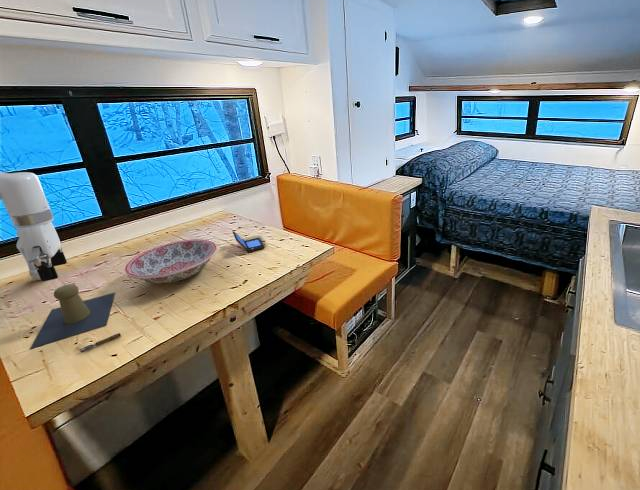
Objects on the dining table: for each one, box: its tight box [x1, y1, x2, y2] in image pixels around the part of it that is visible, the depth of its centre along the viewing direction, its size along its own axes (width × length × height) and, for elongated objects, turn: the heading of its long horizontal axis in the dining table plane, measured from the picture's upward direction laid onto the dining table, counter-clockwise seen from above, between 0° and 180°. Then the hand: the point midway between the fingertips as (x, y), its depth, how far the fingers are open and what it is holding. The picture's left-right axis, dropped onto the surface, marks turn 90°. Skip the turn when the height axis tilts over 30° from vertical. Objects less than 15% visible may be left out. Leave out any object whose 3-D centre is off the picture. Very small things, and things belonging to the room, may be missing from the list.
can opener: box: [77, 332, 122, 353], centre depth 84 cm, size 9×2×1 cm, turn 126°
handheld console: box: [232, 230, 265, 254], centre depth 137 cm, size 12×11×7 cm
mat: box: [29, 292, 116, 350], centre depth 95 cm, size 16×20×1 cm
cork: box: [53, 283, 90, 324], centre depth 93 cm, size 6×6×11 cm
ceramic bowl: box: [124, 238, 218, 284], centre depth 116 cm, size 29×29×8 cm
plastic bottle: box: [15, 230, 52, 281], centre depth 114 cm, size 6×7×20 cm
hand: (55, 271), depth 89 cm, fingers open, 9 cm apart
